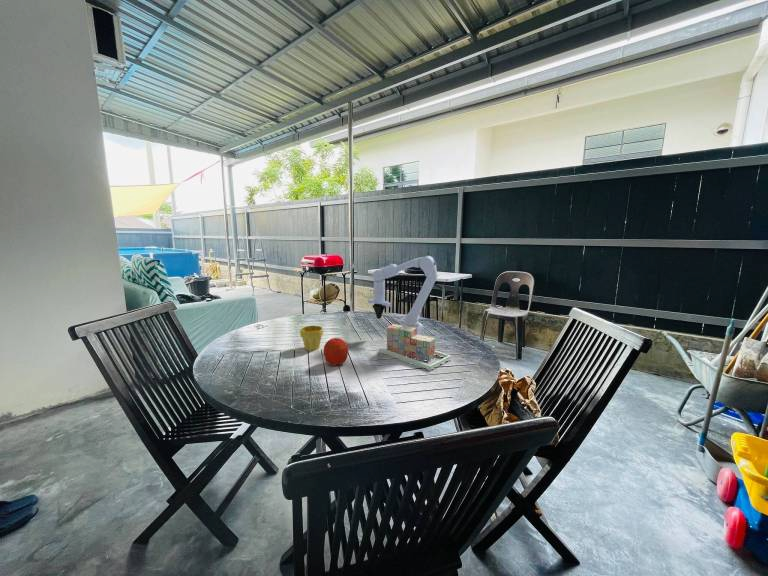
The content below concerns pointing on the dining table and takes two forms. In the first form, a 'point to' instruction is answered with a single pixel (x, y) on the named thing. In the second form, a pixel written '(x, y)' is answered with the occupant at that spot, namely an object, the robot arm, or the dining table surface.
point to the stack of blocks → (409, 342)
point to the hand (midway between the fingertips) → (378, 318)
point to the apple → (335, 351)
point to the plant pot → (311, 336)
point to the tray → (416, 360)
